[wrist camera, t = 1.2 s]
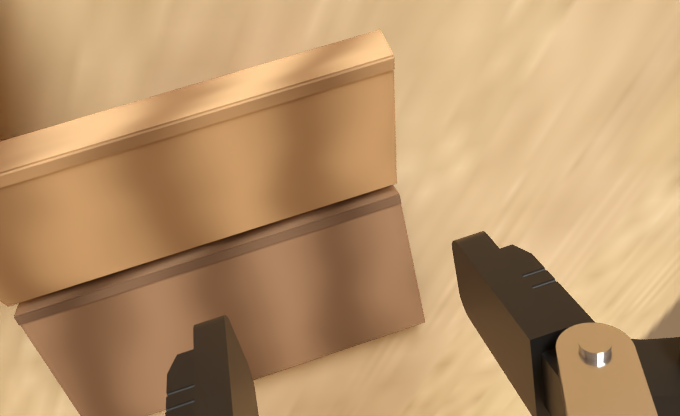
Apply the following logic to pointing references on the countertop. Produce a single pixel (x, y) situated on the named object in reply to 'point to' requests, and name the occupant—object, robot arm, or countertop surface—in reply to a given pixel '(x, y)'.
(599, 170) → the countertop surface
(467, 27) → the countertop surface
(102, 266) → the oak plank
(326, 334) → the walnut board
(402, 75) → the countertop surface
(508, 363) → the robot arm
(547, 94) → the countertop surface
